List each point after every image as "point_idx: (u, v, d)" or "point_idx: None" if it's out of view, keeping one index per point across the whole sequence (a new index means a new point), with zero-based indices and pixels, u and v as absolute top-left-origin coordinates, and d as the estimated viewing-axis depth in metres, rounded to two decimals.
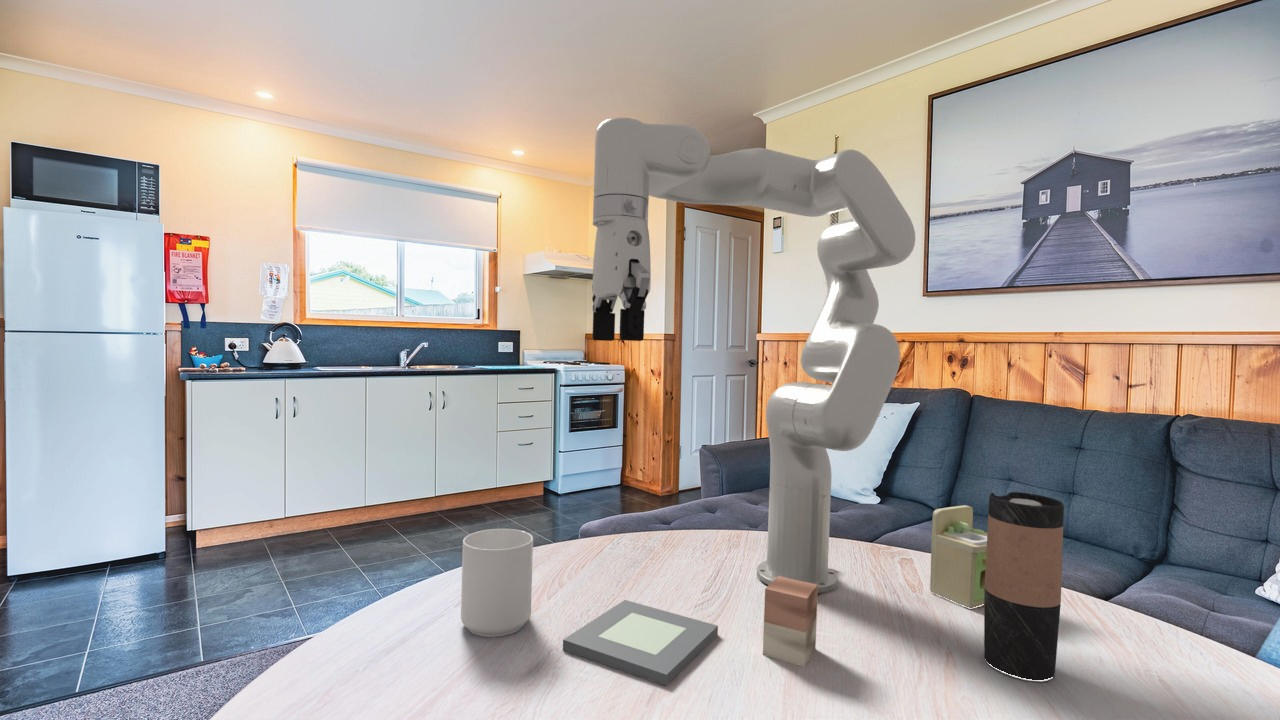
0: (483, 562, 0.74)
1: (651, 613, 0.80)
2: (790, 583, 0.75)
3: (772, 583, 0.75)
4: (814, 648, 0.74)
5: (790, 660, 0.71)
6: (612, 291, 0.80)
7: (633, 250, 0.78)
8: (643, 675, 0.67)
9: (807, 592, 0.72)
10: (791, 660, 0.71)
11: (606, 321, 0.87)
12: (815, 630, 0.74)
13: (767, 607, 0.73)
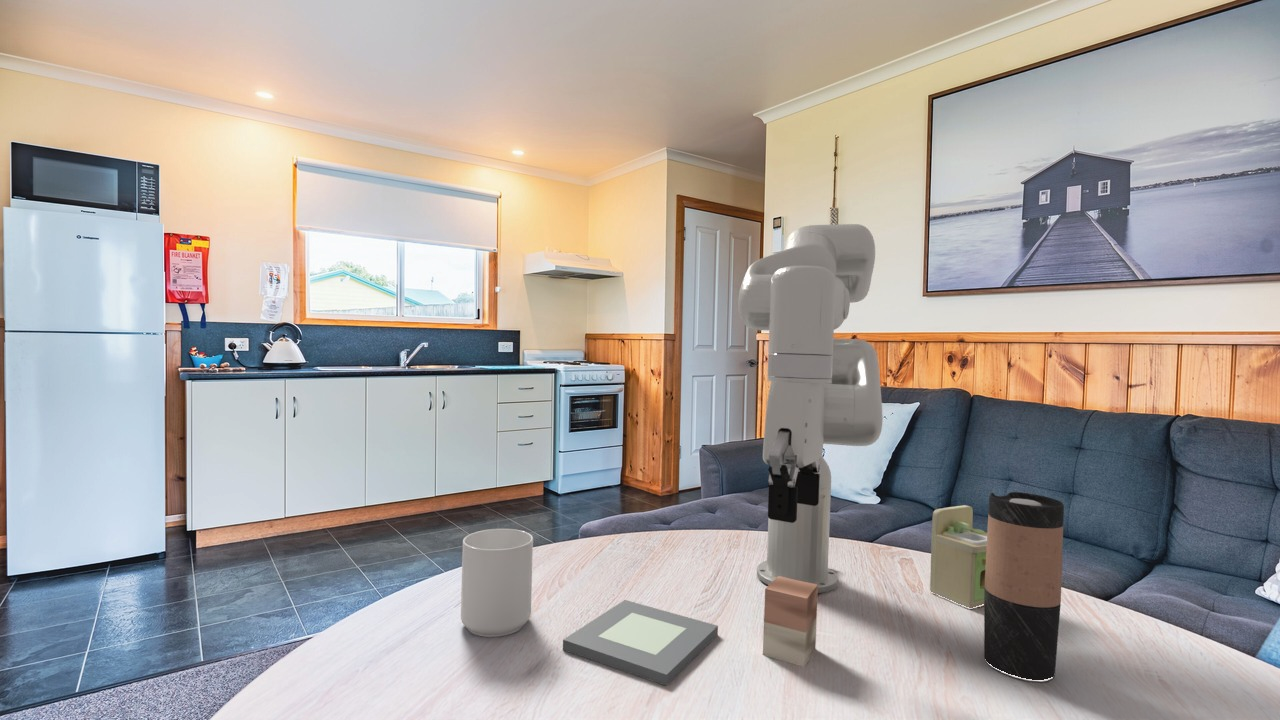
0: (483, 562, 0.74)
1: (651, 613, 0.80)
2: (790, 583, 0.75)
3: (772, 583, 0.75)
4: (814, 648, 0.74)
5: (790, 660, 0.71)
6: (818, 457, 0.75)
7: None
8: (643, 675, 0.67)
9: (807, 592, 0.72)
10: (791, 660, 0.71)
11: None
12: (815, 630, 0.74)
13: (767, 607, 0.73)
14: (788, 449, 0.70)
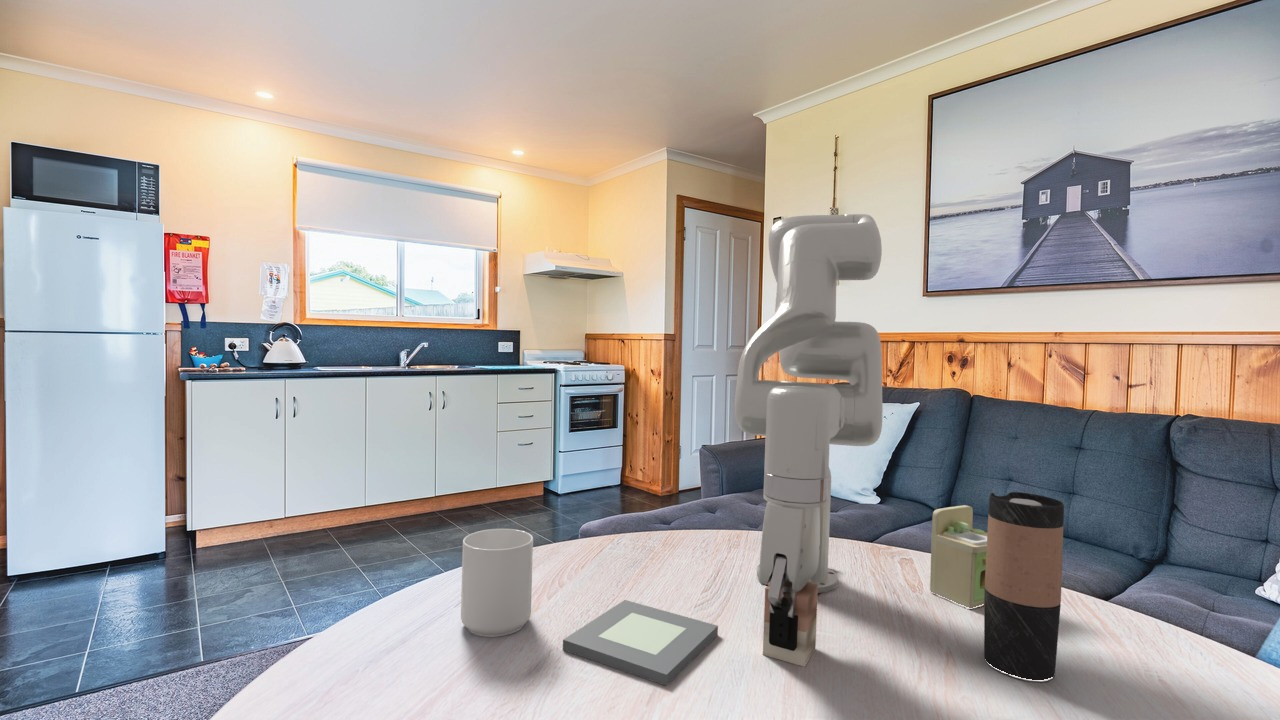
0: (483, 562, 0.74)
1: (651, 613, 0.80)
2: (790, 583, 0.75)
3: None
4: (814, 648, 0.74)
5: (790, 660, 0.71)
6: (814, 573, 0.75)
7: None
8: (643, 675, 0.67)
9: (807, 591, 0.72)
10: (791, 660, 0.71)
11: None
12: (815, 630, 0.74)
13: (767, 607, 0.73)
14: None
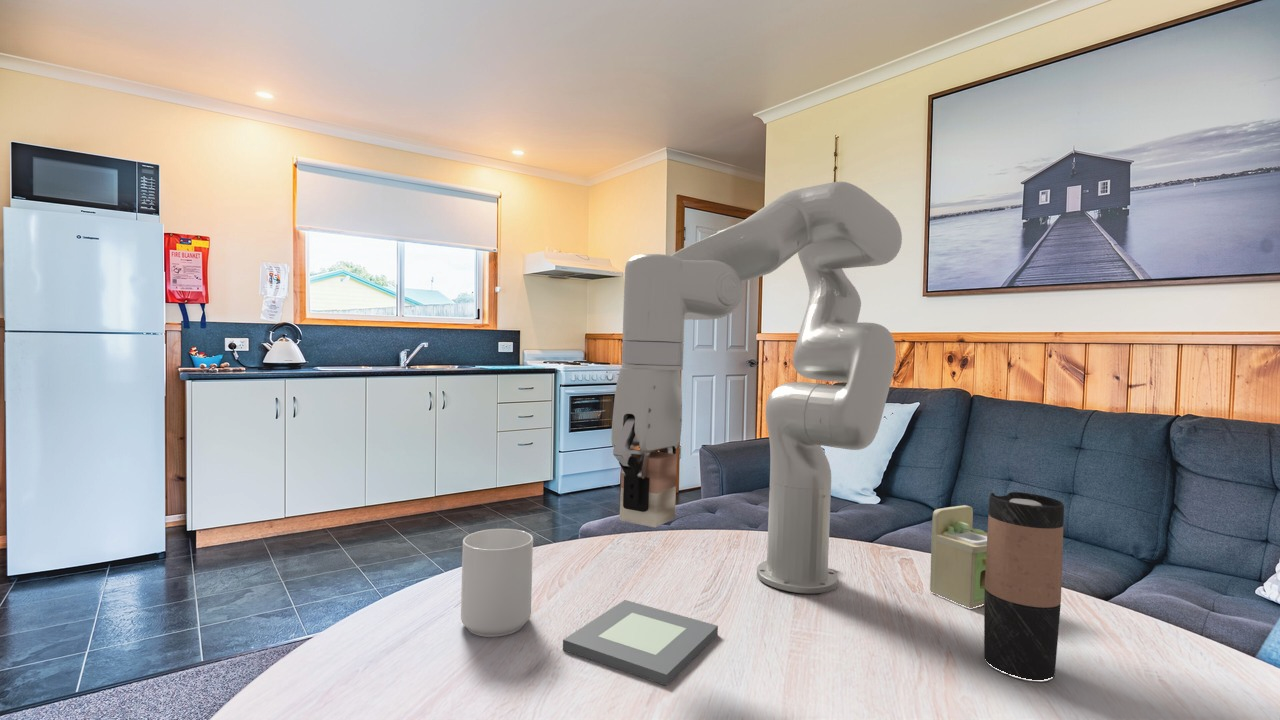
0: (483, 562, 0.74)
1: (651, 613, 0.80)
2: (650, 453, 0.76)
3: None
4: (673, 516, 0.75)
5: (643, 522, 0.72)
6: (674, 443, 0.76)
7: None
8: (643, 675, 0.67)
9: (662, 457, 0.73)
10: (644, 522, 0.72)
11: None
12: (674, 499, 0.75)
13: None
14: (636, 434, 0.72)
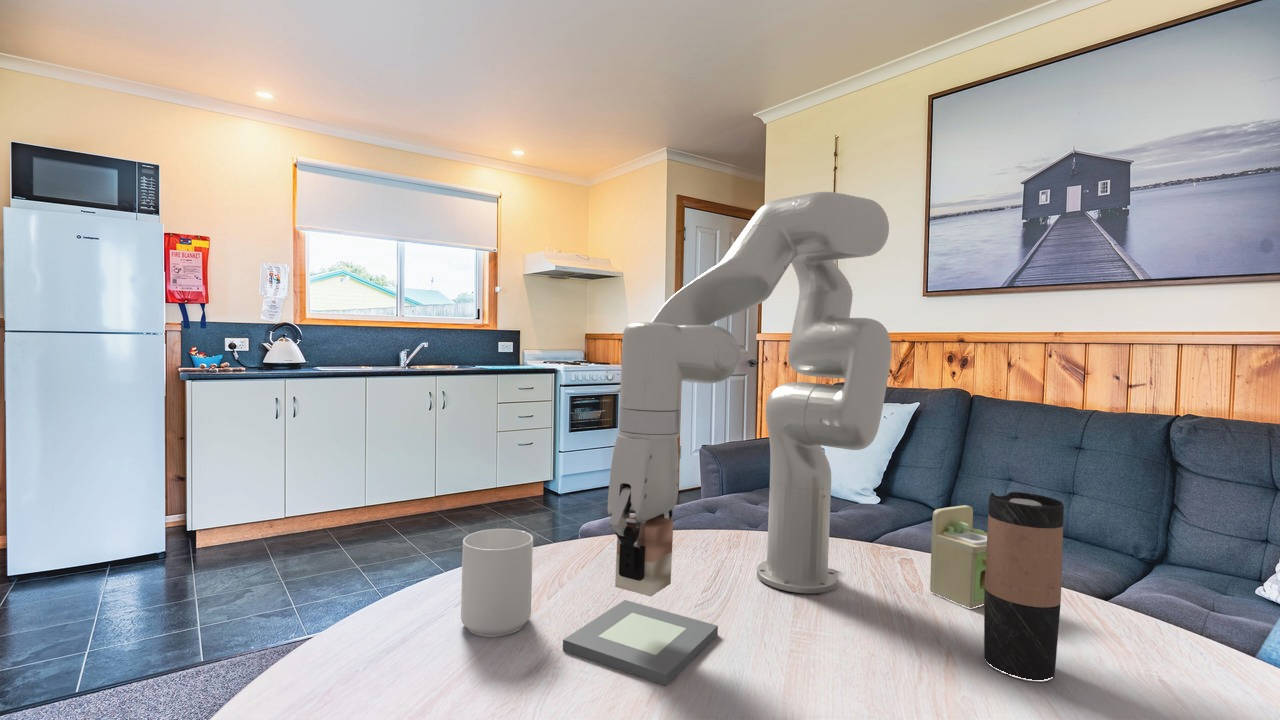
0: (483, 562, 0.74)
1: (651, 613, 0.80)
2: None
3: None
4: (668, 582, 0.75)
5: (639, 591, 0.72)
6: (670, 508, 0.76)
7: None
8: (643, 675, 0.67)
9: (658, 524, 0.73)
10: (639, 591, 0.72)
11: None
12: (670, 564, 0.75)
13: None
14: None
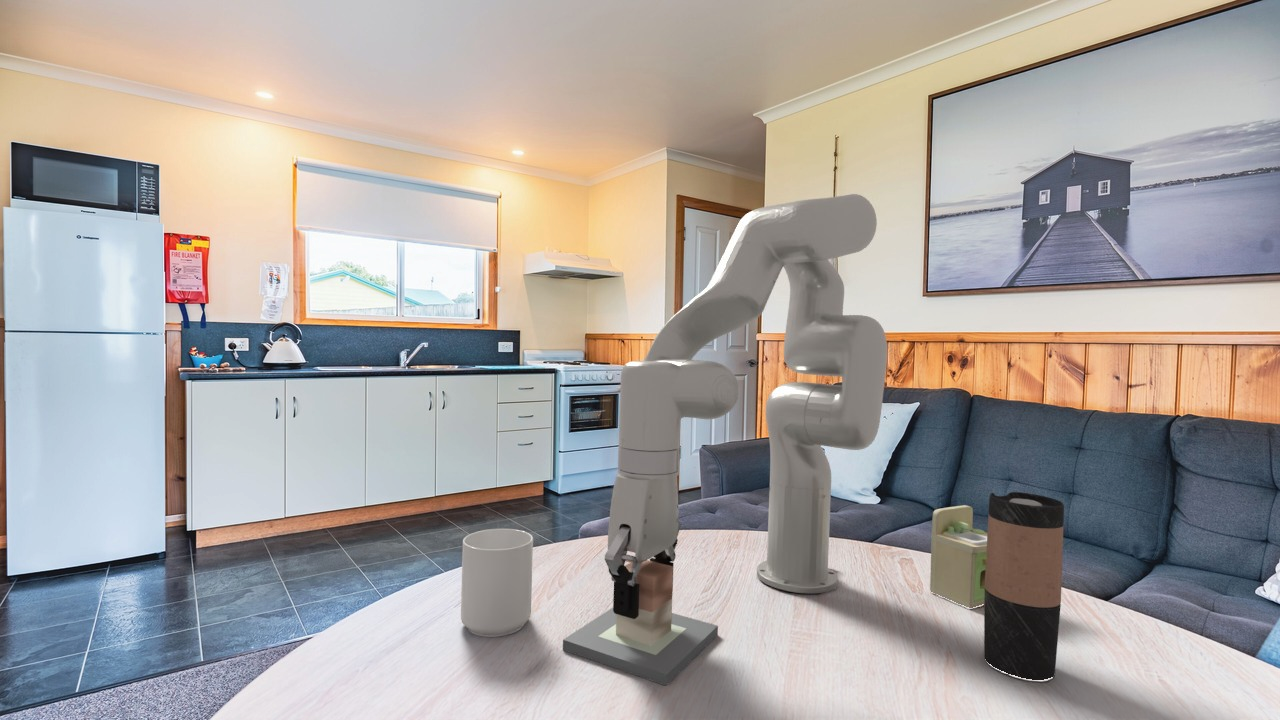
0: (483, 562, 0.74)
1: None
2: (646, 565, 0.76)
3: (628, 565, 0.76)
4: (669, 629, 0.75)
5: (639, 639, 0.72)
6: (670, 545, 0.76)
7: None
8: (643, 675, 0.67)
9: (657, 573, 0.73)
10: (639, 640, 0.72)
11: None
12: (670, 611, 0.76)
13: None
14: None
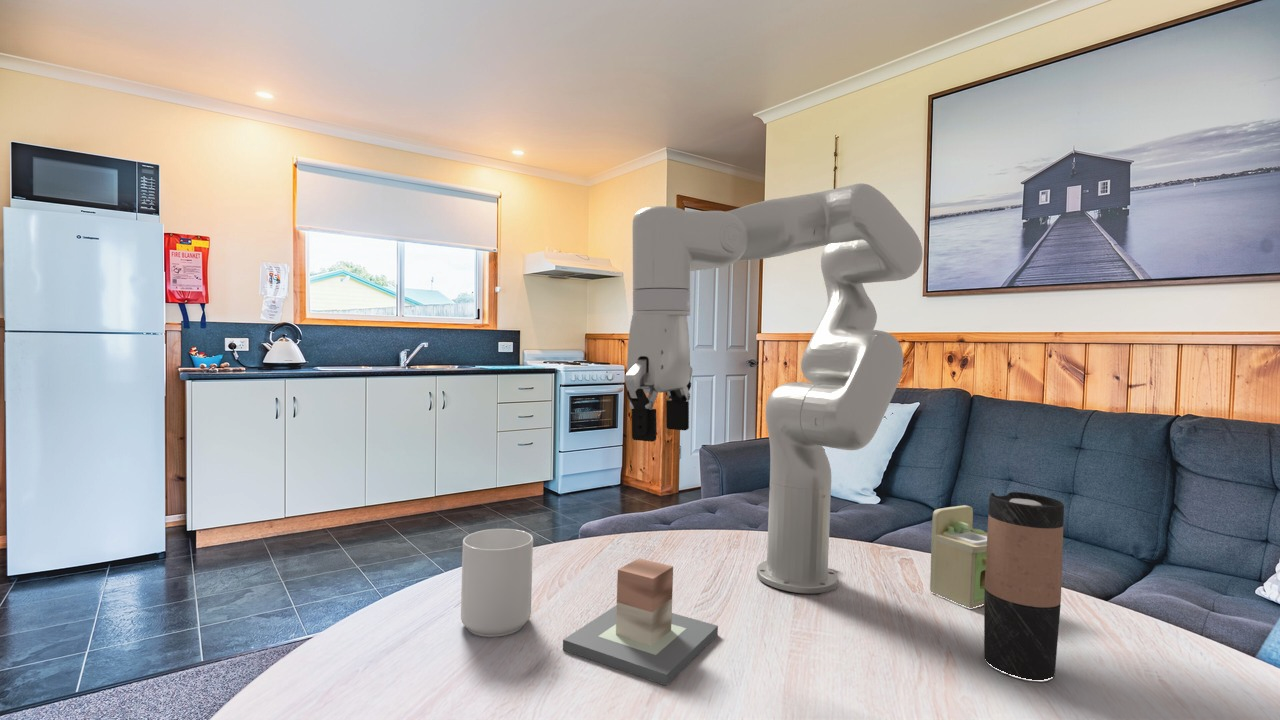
0: (483, 562, 0.74)
1: None
2: (646, 565, 0.76)
3: (628, 565, 0.76)
4: (669, 629, 0.75)
5: (639, 639, 0.72)
6: (684, 385, 0.81)
7: None
8: (643, 675, 0.67)
9: (657, 573, 0.73)
10: (639, 640, 0.72)
11: None
12: (670, 611, 0.76)
13: (619, 588, 0.74)
14: (649, 376, 0.77)
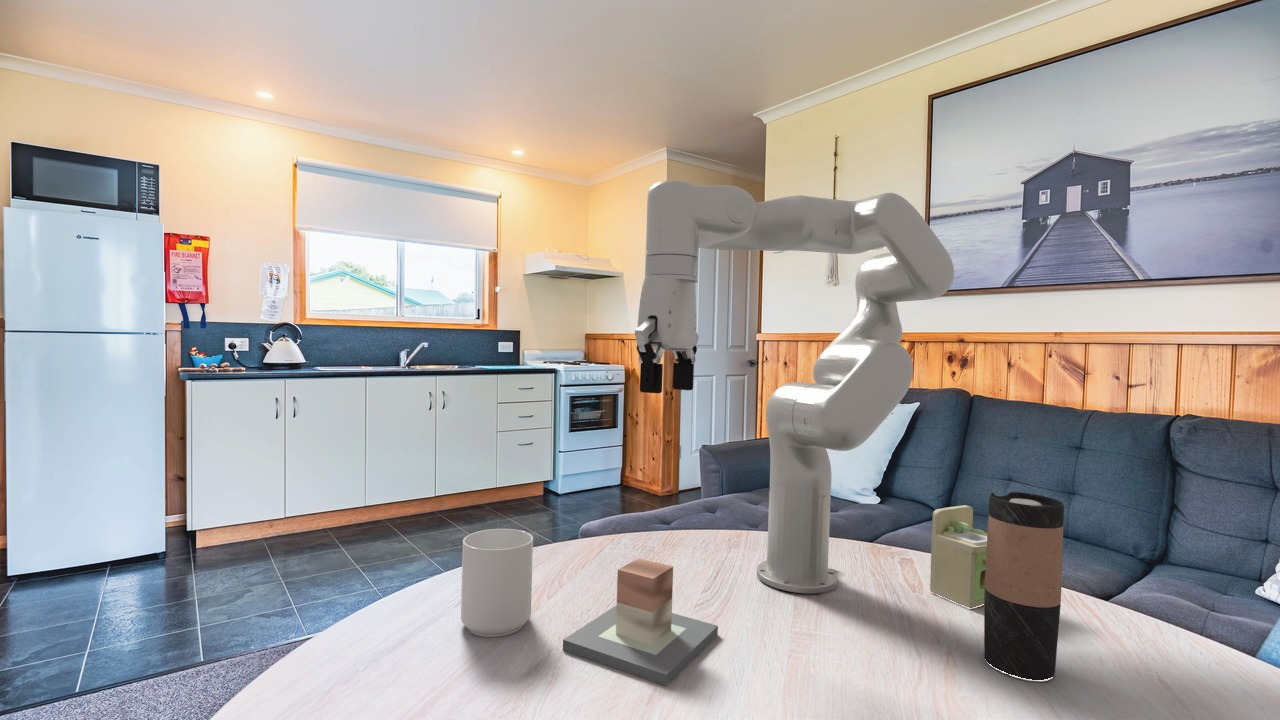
0: (483, 562, 0.74)
1: None
2: (646, 565, 0.76)
3: (628, 565, 0.76)
4: (669, 629, 0.75)
5: (639, 639, 0.72)
6: (689, 347, 0.88)
7: None
8: (643, 675, 0.67)
9: (657, 573, 0.73)
10: (639, 640, 0.72)
11: None
12: (670, 611, 0.76)
13: (619, 588, 0.74)
14: (658, 335, 0.84)
